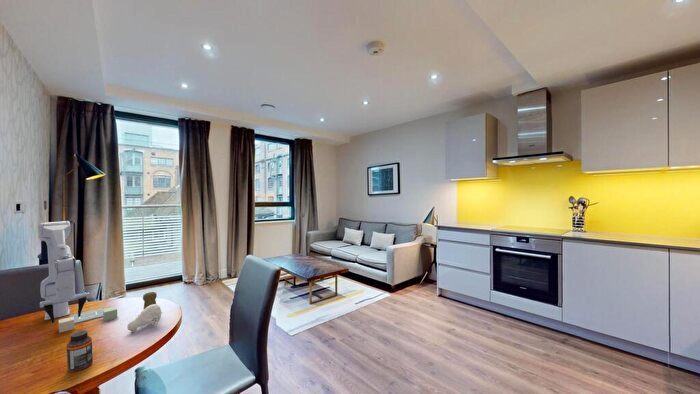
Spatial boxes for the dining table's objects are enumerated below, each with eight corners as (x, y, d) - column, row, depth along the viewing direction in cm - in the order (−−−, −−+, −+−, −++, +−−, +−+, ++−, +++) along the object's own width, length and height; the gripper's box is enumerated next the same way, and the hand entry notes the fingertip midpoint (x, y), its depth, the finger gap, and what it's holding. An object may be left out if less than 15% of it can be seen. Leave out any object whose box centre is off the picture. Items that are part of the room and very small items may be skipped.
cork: (150, 320, 125) (149, 295, 125) (138, 318, 126) (138, 294, 126) (161, 314, 131) (160, 290, 131) (150, 313, 132) (150, 290, 132)
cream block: (59, 329, 118) (58, 319, 117) (74, 325, 121) (73, 316, 121) (59, 333, 114) (58, 323, 114) (74, 329, 118) (74, 319, 117)
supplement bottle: (70, 365, 93) (69, 331, 92) (94, 359, 96) (93, 326, 96) (64, 375, 88) (63, 339, 87) (90, 368, 91) (89, 334, 90)
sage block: (103, 318, 127) (103, 309, 127) (116, 314, 131) (115, 306, 131) (104, 321, 124) (104, 312, 124) (117, 317, 128) (117, 309, 127)
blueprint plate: (69, 316, 129) (69, 315, 129) (104, 308, 138) (104, 307, 138) (70, 324, 121) (70, 323, 121) (106, 315, 130) (106, 314, 130)
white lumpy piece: (162, 304, 121) (129, 317, 111) (164, 322, 122) (132, 337, 112) (155, 301, 124) (122, 313, 114) (157, 319, 125) (125, 333, 115)
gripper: (38, 294, 109) (40, 328, 109) (89, 284, 119) (90, 316, 120) (40, 289, 114) (41, 322, 114) (88, 281, 124) (89, 311, 125)
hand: (66, 319), depth 117 cm, fingers open, 7 cm apart
